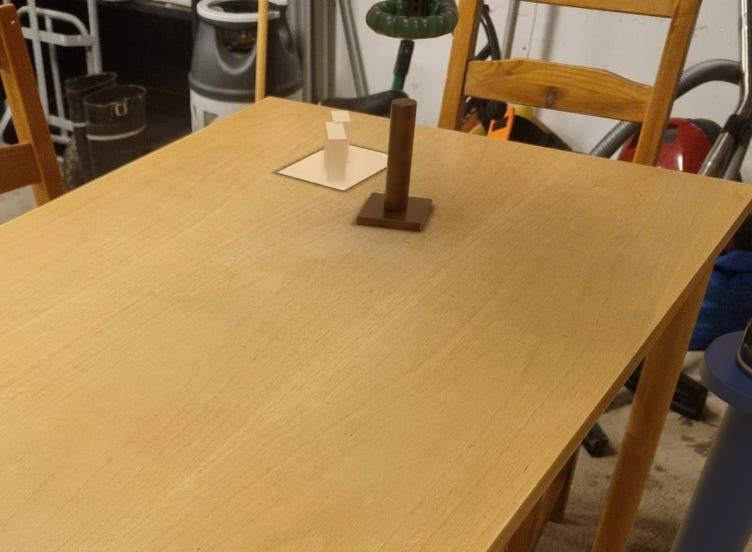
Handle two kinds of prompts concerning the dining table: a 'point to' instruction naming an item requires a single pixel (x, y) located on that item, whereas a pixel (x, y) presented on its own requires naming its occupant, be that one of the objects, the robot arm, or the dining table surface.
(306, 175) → the napkin holder
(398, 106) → the post
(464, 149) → the dining table surface
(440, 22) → the ring
